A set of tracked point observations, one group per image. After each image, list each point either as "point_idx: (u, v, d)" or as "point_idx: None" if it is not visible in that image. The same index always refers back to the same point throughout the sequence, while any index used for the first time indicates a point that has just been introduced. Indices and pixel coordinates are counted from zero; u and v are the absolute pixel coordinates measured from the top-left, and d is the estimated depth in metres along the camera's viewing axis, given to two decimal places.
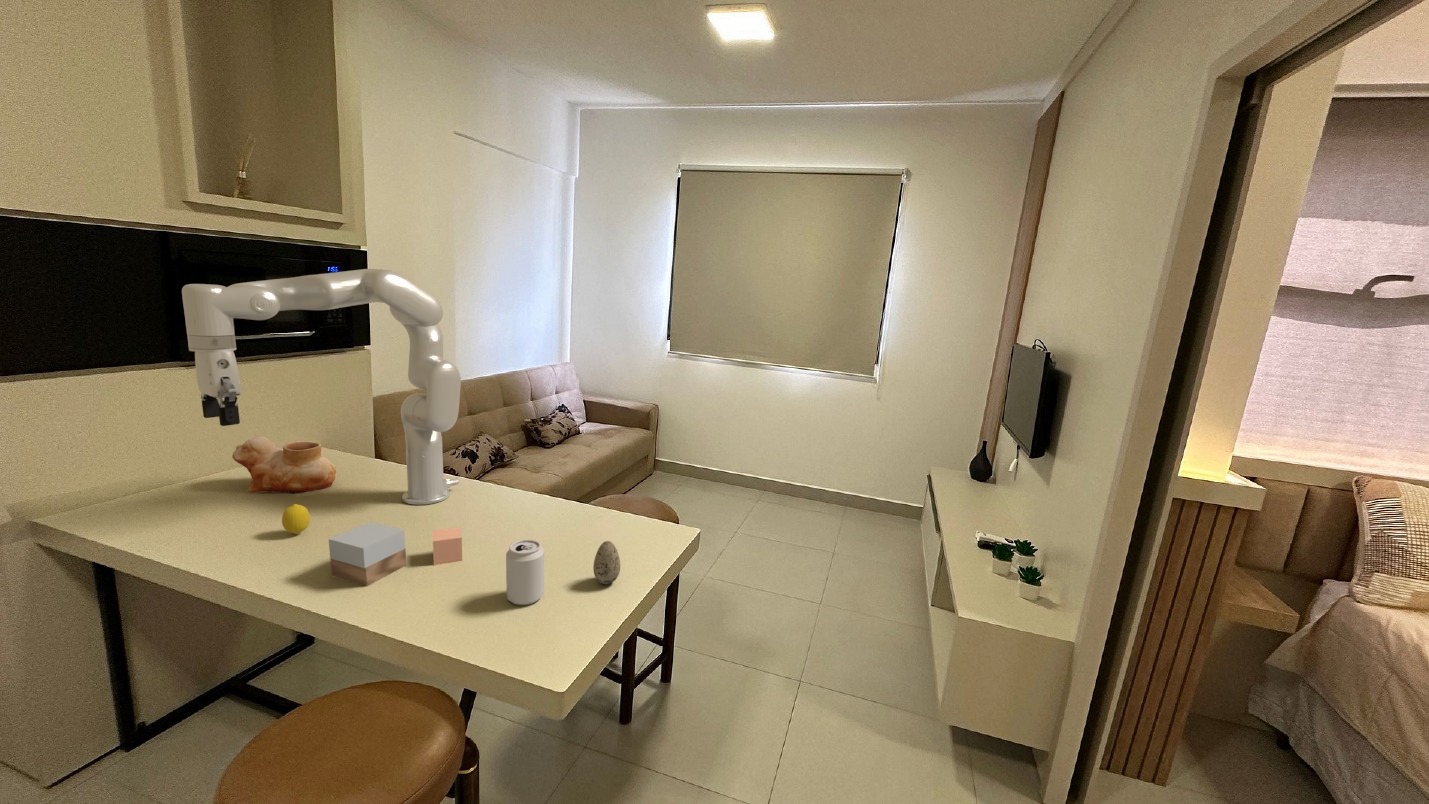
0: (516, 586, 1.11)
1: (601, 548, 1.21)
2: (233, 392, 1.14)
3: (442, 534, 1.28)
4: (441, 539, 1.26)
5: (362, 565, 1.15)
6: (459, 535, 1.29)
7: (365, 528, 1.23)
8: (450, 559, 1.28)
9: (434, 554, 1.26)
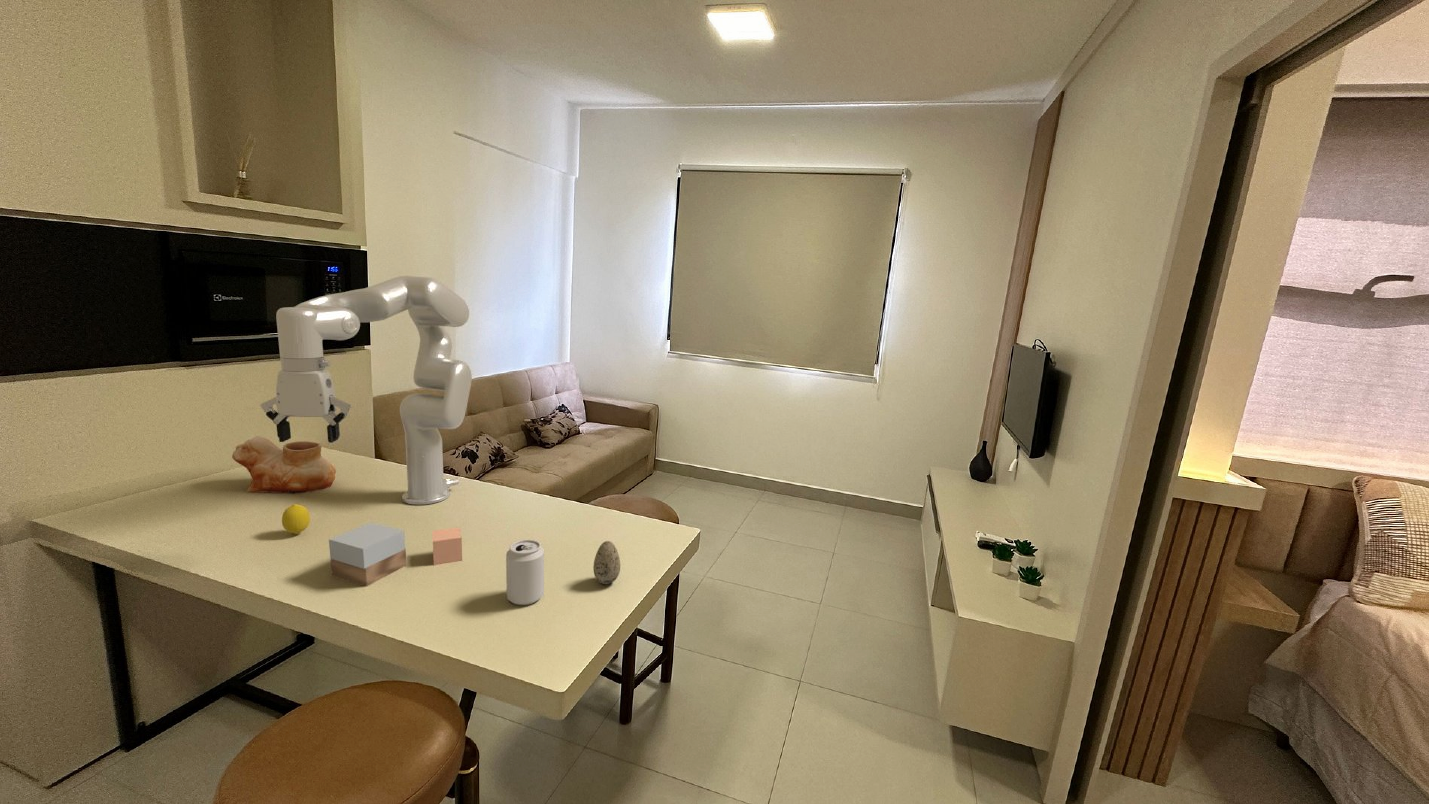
0: (516, 586, 1.11)
1: (601, 548, 1.21)
2: (349, 408, 1.22)
3: (442, 534, 1.28)
4: (441, 539, 1.26)
5: (362, 566, 1.15)
6: (459, 535, 1.29)
7: (365, 528, 1.23)
8: (450, 559, 1.28)
9: (434, 554, 1.26)
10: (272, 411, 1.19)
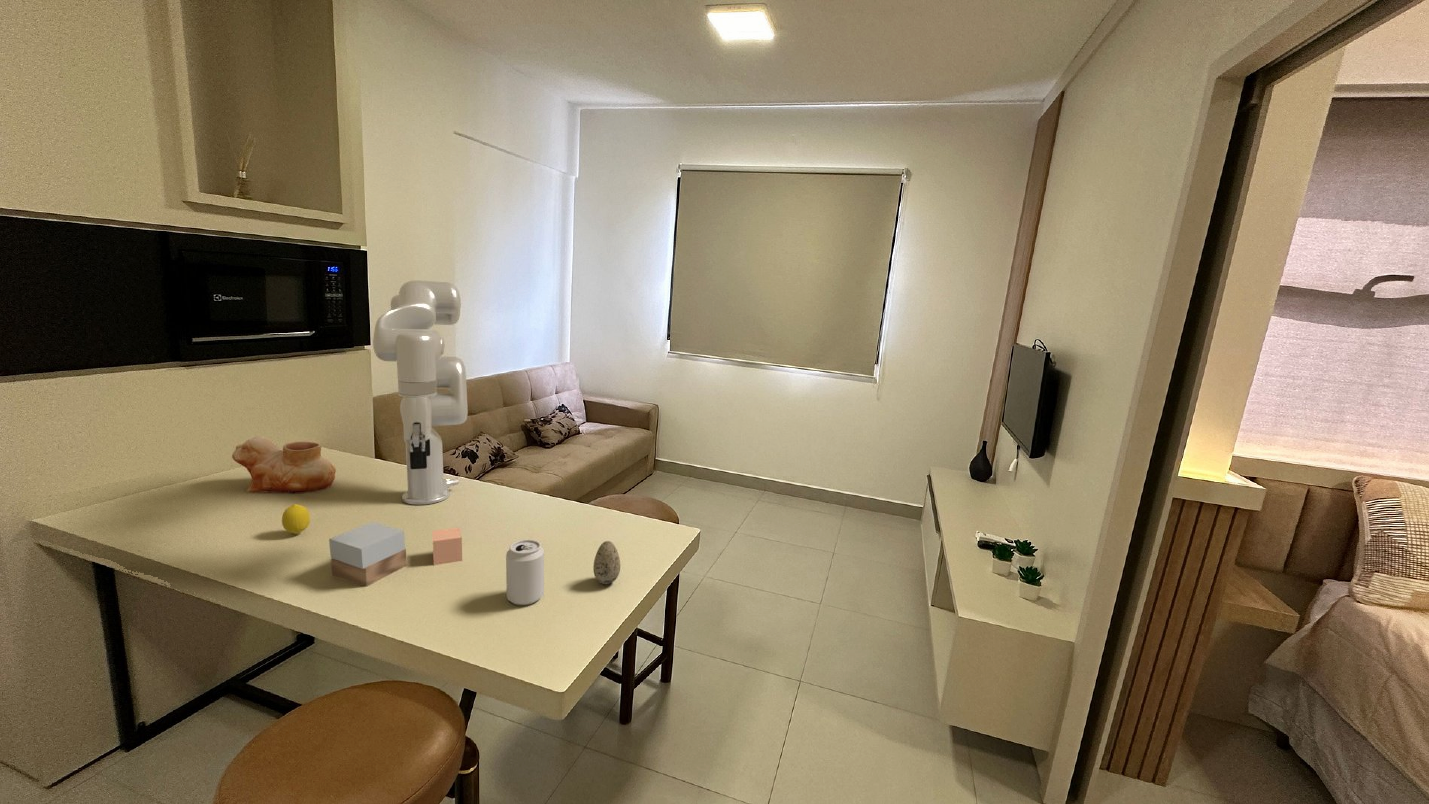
0: (516, 586, 1.11)
1: (601, 548, 1.21)
2: None
3: (442, 534, 1.28)
4: (441, 539, 1.26)
5: (360, 566, 1.15)
6: (459, 535, 1.29)
7: (366, 528, 1.23)
8: (450, 559, 1.28)
9: (434, 554, 1.26)
10: None
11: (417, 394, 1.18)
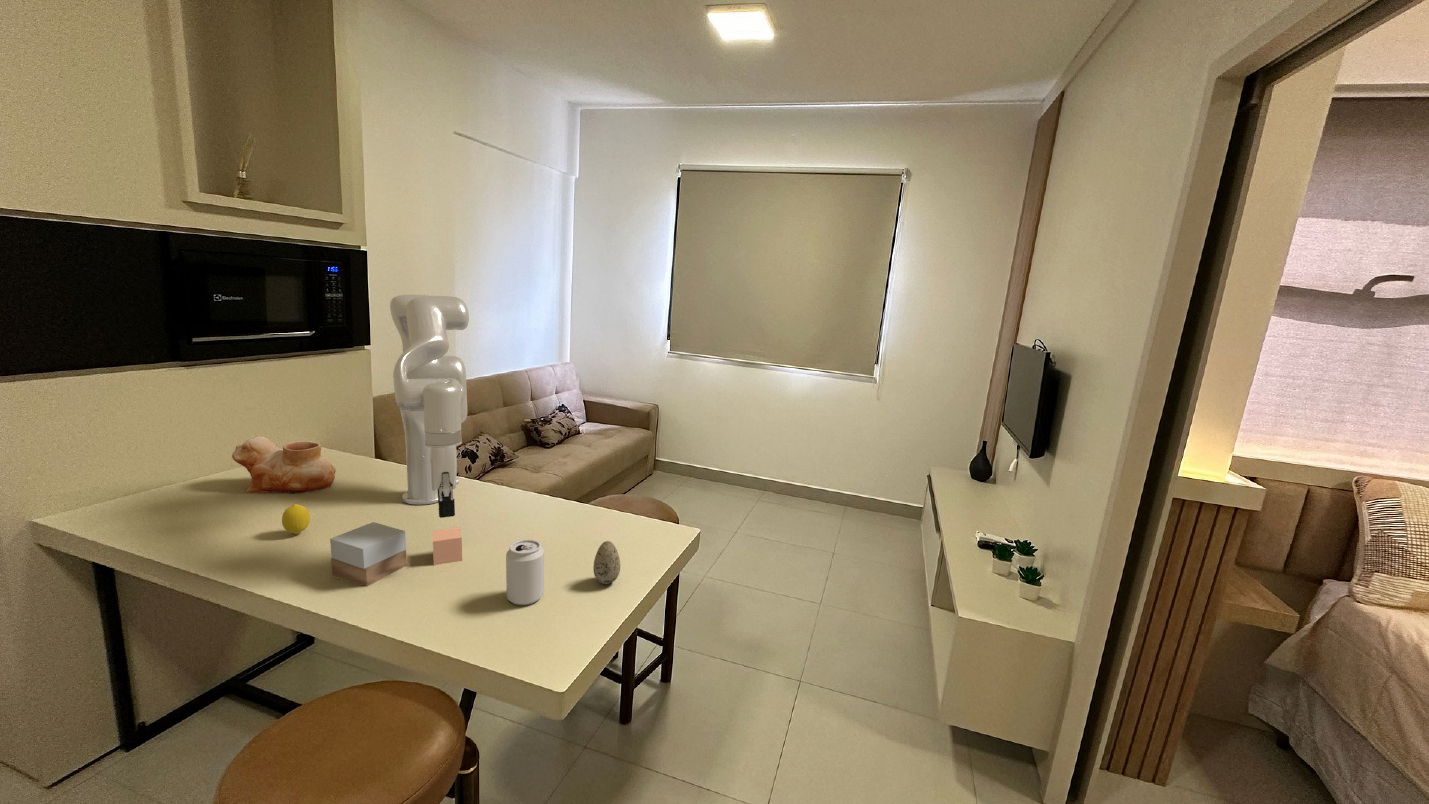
0: (516, 586, 1.11)
1: (601, 548, 1.21)
2: None
3: (441, 534, 1.28)
4: (441, 539, 1.26)
5: (362, 566, 1.15)
6: (459, 535, 1.29)
7: (367, 528, 1.23)
8: (450, 559, 1.28)
9: (434, 554, 1.26)
10: None
11: (445, 444, 1.21)
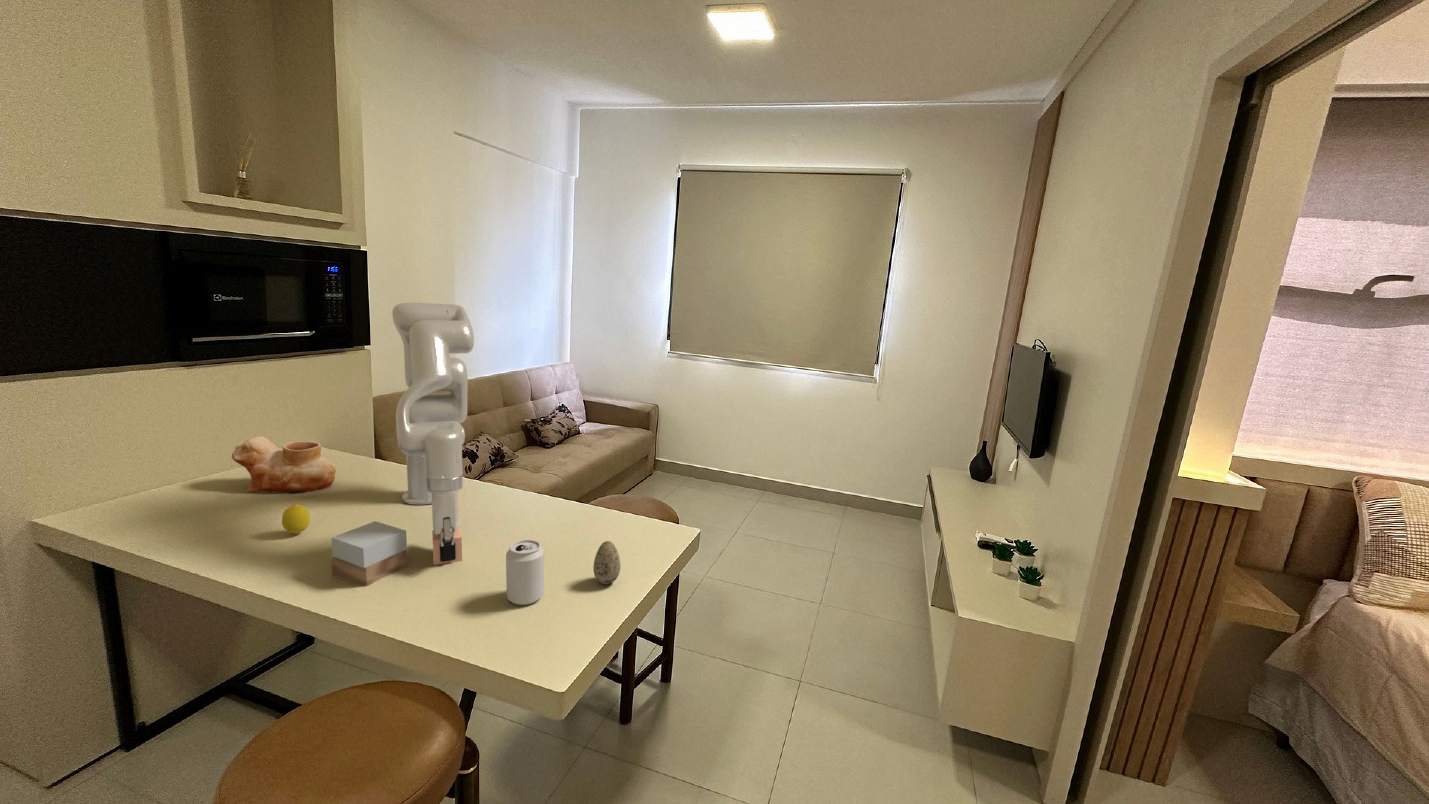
0: (516, 586, 1.11)
1: (601, 548, 1.21)
2: None
3: None
4: None
5: (362, 565, 1.15)
6: (459, 535, 1.29)
7: (368, 527, 1.24)
8: None
9: (434, 554, 1.26)
10: None
11: (446, 490, 1.23)
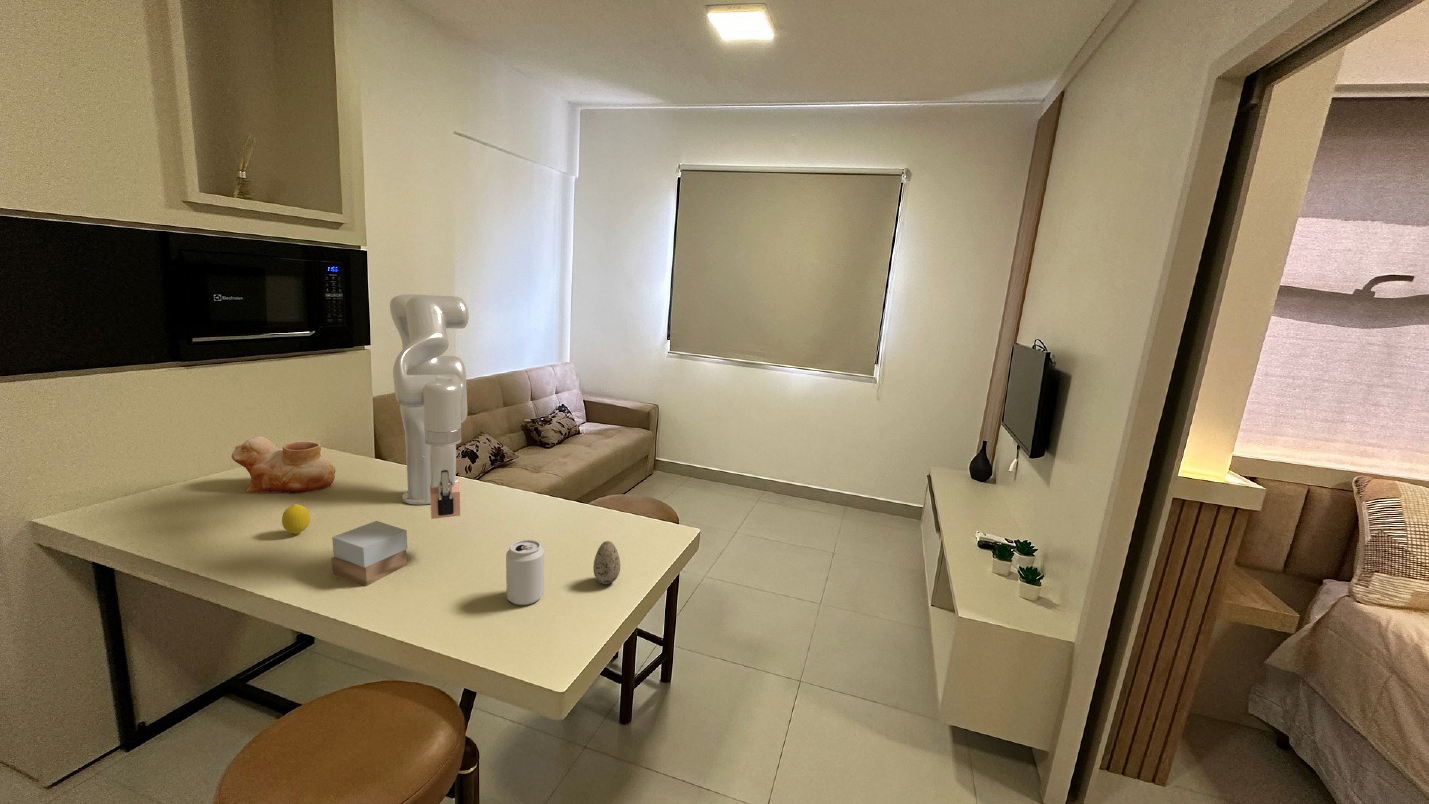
0: (516, 586, 1.11)
1: (601, 548, 1.21)
2: None
3: None
4: None
5: (362, 564, 1.15)
6: (457, 489, 1.27)
7: (369, 527, 1.24)
8: None
9: (432, 507, 1.24)
10: None
11: (445, 443, 1.21)
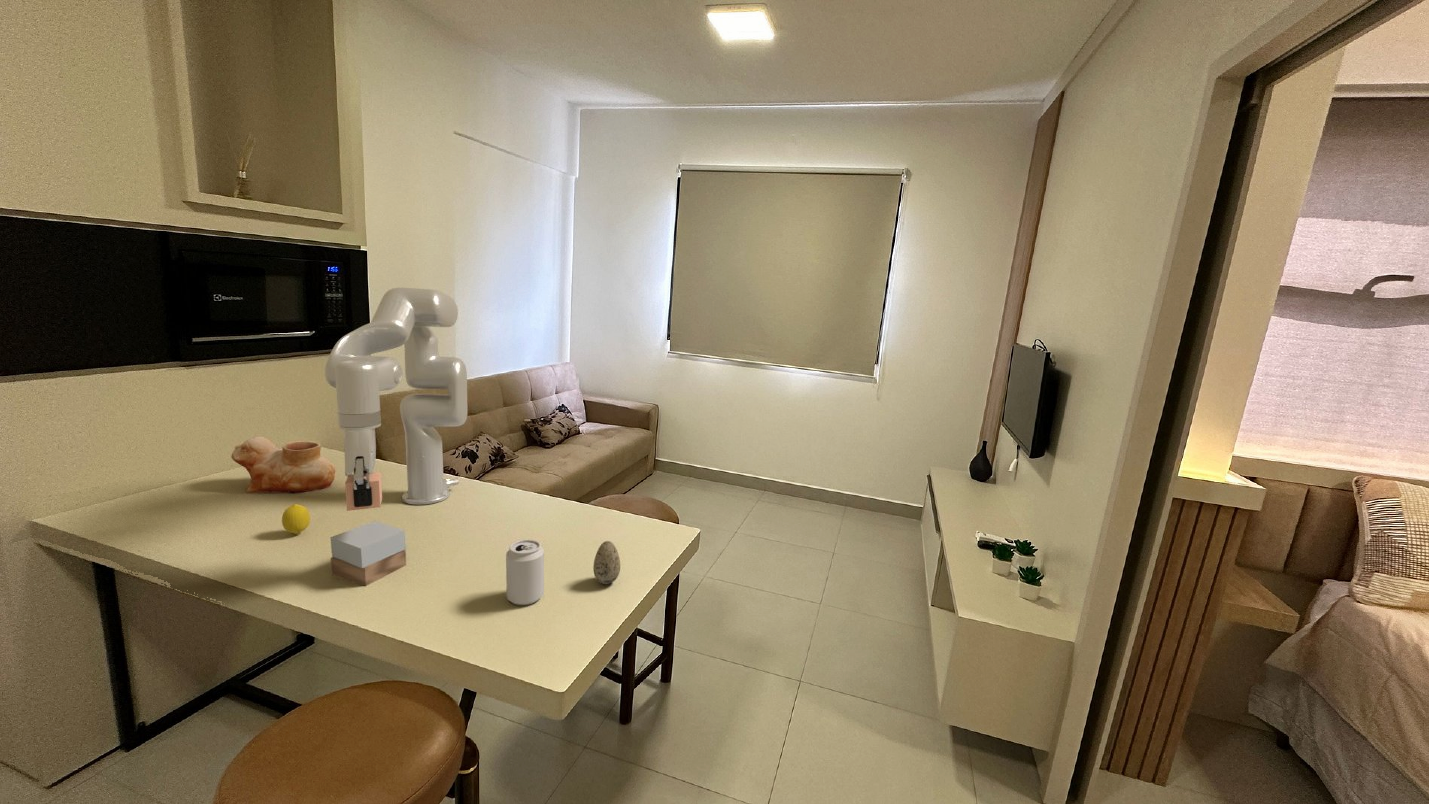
0: (516, 586, 1.11)
1: (601, 548, 1.21)
2: None
3: None
4: None
5: (360, 565, 1.15)
6: (377, 479, 1.17)
7: (367, 527, 1.24)
8: None
9: (347, 498, 1.14)
10: None
11: (359, 426, 1.12)
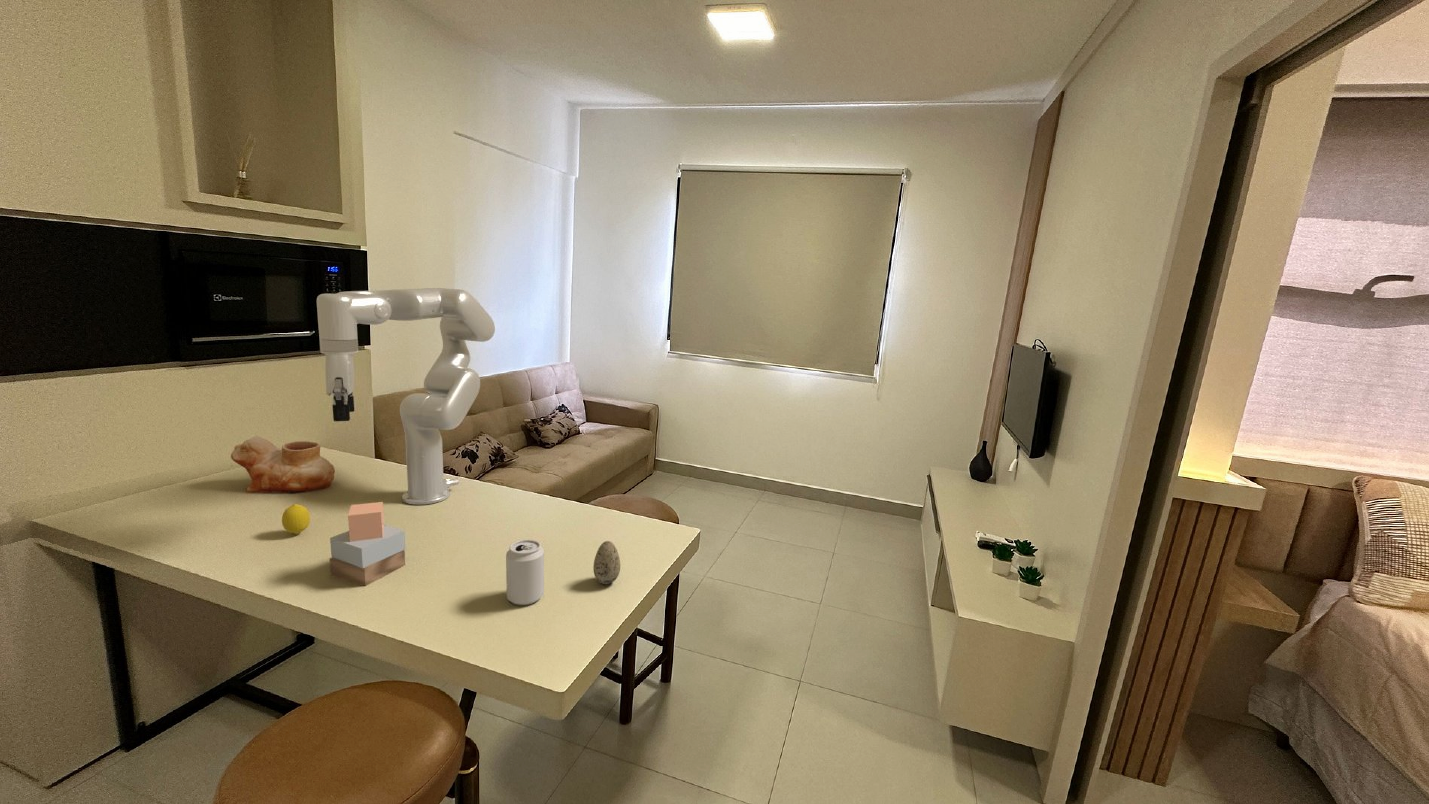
0: (516, 586, 1.11)
1: (601, 548, 1.21)
2: None
3: (360, 509, 1.19)
4: (358, 513, 1.17)
5: (360, 565, 1.15)
6: (379, 510, 1.19)
7: None
8: (368, 535, 1.18)
9: (350, 529, 1.16)
10: None
11: (338, 351, 1.27)
